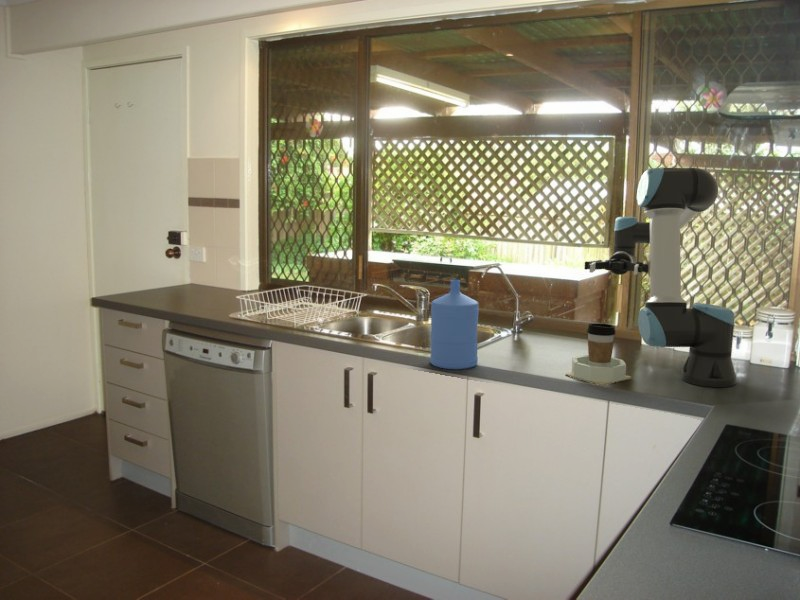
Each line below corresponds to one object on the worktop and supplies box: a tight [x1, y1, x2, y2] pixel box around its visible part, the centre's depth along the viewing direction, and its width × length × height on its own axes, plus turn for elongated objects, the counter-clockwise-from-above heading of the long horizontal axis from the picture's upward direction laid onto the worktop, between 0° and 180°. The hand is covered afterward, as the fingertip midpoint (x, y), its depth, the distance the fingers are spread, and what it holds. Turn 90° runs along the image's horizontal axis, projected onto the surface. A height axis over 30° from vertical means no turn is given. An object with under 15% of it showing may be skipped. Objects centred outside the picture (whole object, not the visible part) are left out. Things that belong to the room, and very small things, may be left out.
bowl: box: [565, 354, 632, 387], centre depth 210 cm, size 15×15×5 cm
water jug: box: [429, 279, 480, 370], centre depth 223 cm, size 16×16×28 cm
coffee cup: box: [586, 322, 616, 367], centre depth 209 cm, size 8×8×15 cm
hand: (613, 269), depth 218 cm, fingers open, 13 cm apart
